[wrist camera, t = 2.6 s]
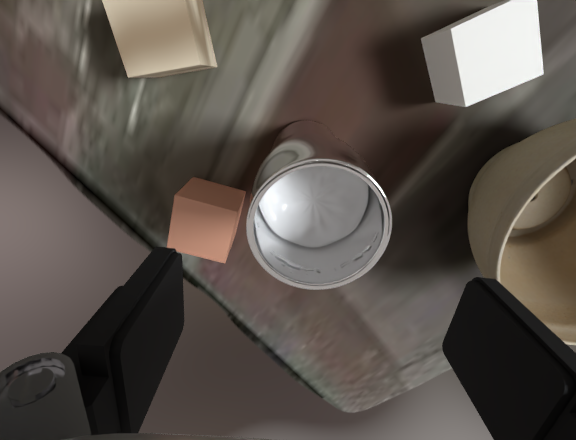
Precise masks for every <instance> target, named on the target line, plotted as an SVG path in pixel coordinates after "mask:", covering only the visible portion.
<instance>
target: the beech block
mask: <svg viewBox="0 0 576 440" xmlns="http://www.w3.org/2000/svg"><path fill="white" fill-rule="evenodd" d="M102 1H103V4H104V7H105V10H106V13H107V16H108V19H109V22H110V25H111V28H112V31H113V34H114V37H115V40H116V43H117V46H118V49H119V52H120V55H121V58H122V61H123V64H124V67H125V70H126V73H127V76H128V78H159V77H164V76H170V75H176V74H181V73H187V72H193V71H198V70H204V69H210V68H215V67H217V64H216V59H215V55H214V50H213V46H212V41H211V37H210V32H209V28H208V23H207V19H206V14H205V10H204V6H203V1H202V0H102Z"/></svg>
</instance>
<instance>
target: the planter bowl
mask: <svg viewBox="0 0 576 440" xmlns="http://www.w3.org/2000/svg"><path fill="white" fill-rule="evenodd" d="M534 196H535V198H534V199H532V198H533V197H534ZM531 199H532V200H531ZM468 207H469V211H468V236H469V242H470V246H471V250H472V253H473V256H474V259H475V261H476V263H477V266H478V268H479V269H480V271H481V273H482V275H483V277H484V278H491V279H496V280H497V281H499V282H500V283H501V284H502V285H503V286H504V287H505V288H506V289H507V290H508V291H509V292H510V293H511V294H513V295H514V296H515V297H516V298H517V299H518V300H519V301H520V302H521V303H522V304H523V305H524V306H525V307H527V308H528V309H529V310H530V311H531V312H532V313H533V314H534V315H535V316H536V317H537V318H538V319H539V320H541V321H542V322H543V323H544V324H545V325H546V326H547V327H548V328H549V329H550V330H551V331H552V332H553V333H555V334H556V335H557V336H558V337H559V338H560V339H561V340H562V341H563V342H564V343H565V344H569V345H576V119H573V120H569V121H566V122H563V123H560V124H557V125H554V126H551V127H549V128H547V129H544V130H542V131H540V132H538V133H536V134H533V135H531V136H530V137H528V138H526V139H524V140H522V141H521V142H518V143H516V144H513V145H511V146H509V147H507V148H505V149H503V150H502V151H500V152H499V153H497V154H496V155H495V156H493V157H492V158H491V159H490V160H489V161H488V162H487V163H486V164H485V165H484V166H483V167H482V168H481V170H480V171H479V172H478V174H477V176H476V177H475V179H474V181H473V183H472V186H471V189H470V192H469V199H468Z"/></svg>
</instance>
